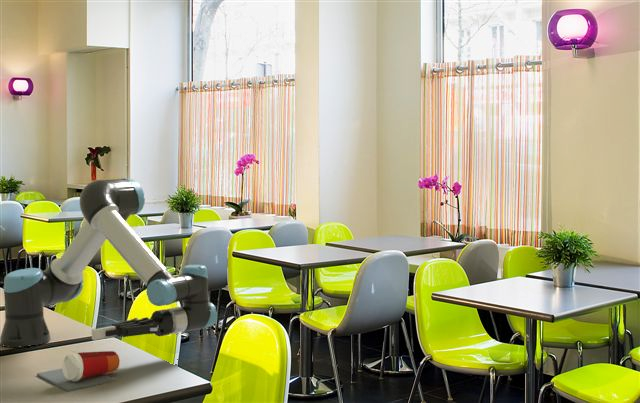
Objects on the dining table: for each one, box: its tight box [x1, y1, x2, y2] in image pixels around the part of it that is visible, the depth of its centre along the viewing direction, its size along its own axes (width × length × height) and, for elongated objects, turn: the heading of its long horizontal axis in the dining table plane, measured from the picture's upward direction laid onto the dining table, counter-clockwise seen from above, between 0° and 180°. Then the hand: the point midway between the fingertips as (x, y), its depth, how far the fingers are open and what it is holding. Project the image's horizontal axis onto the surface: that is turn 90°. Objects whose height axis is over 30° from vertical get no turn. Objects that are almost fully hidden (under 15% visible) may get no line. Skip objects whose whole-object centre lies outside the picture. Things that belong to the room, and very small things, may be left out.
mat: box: [36, 368, 116, 392], centre depth 209 cm, size 20×13×1 cm, turn 42°
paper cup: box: [61, 350, 121, 381], centre depth 208 cm, size 8×8×14 cm
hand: (92, 334), depth 212 cm, fingers closed
